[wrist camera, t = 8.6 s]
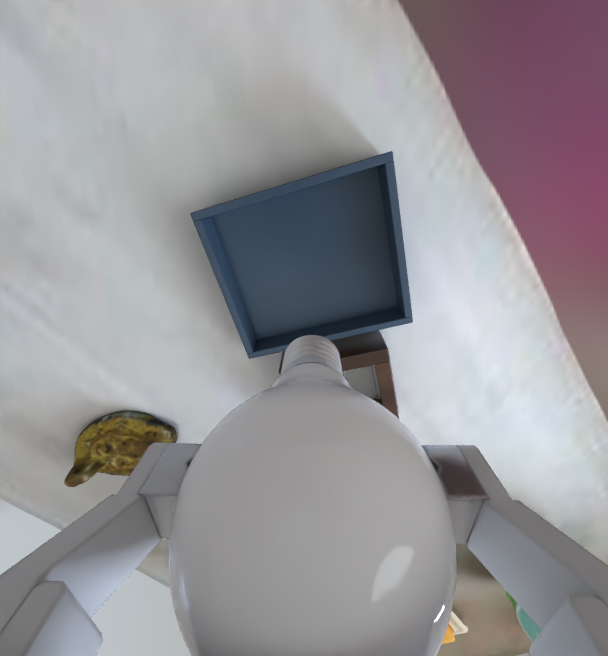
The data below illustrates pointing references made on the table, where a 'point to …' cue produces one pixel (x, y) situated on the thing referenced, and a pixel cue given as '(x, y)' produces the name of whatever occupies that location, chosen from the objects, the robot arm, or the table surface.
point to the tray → (311, 256)
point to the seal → (116, 445)
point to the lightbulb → (312, 526)
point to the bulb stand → (369, 363)
